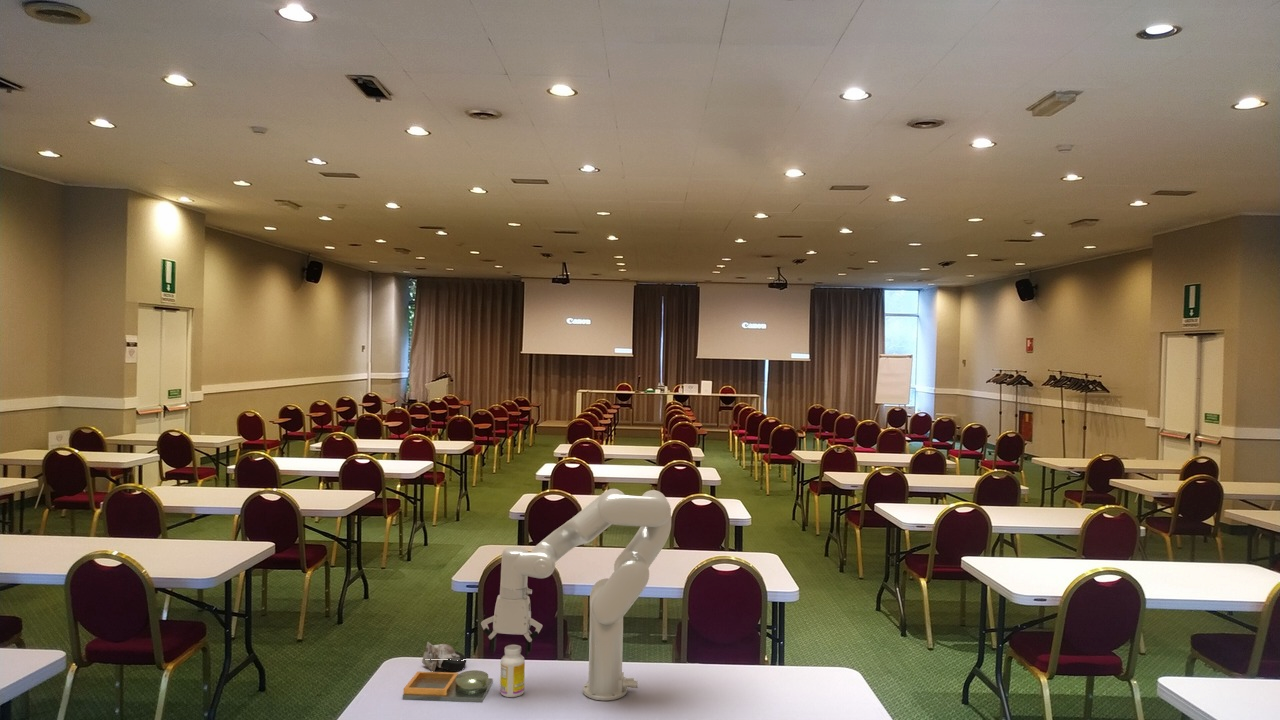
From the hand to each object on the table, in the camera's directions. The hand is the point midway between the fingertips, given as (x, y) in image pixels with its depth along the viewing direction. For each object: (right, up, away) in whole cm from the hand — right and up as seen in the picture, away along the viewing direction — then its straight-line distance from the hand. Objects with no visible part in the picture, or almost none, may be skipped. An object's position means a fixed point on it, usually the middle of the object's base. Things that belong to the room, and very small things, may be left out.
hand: (510, 653), depth 217 cm
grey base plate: (-17, -11, +1) cm, 21 cm away
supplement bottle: (+1, -12, 0) cm, 12 cm away
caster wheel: (-22, -11, +18) cm, 31 cm away
